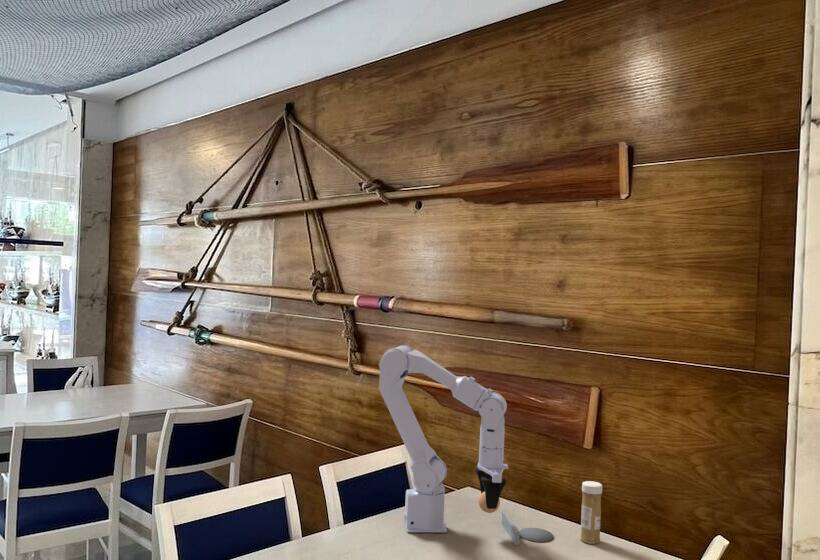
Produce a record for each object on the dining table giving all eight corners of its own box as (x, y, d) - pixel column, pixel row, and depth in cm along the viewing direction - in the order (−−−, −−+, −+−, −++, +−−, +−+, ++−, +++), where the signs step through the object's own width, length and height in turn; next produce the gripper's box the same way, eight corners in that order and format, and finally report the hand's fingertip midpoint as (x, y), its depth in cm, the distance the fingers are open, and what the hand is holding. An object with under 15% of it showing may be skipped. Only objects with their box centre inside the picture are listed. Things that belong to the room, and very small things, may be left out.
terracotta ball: (480, 516, 152) (481, 494, 152) (476, 508, 157) (477, 487, 157) (501, 516, 153) (502, 494, 153) (496, 508, 158) (497, 487, 158)
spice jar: (603, 544, 152) (605, 486, 152) (584, 545, 152) (586, 486, 152) (595, 536, 157) (597, 480, 157) (576, 537, 156) (579, 480, 156)
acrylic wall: (514, 544, 150) (515, 531, 150) (501, 523, 163) (502, 511, 163) (519, 544, 150) (519, 531, 150) (505, 523, 163) (506, 511, 163)
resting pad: (523, 542, 152) (523, 541, 152) (515, 528, 160) (515, 527, 160) (557, 542, 153) (557, 541, 153) (547, 529, 161) (547, 527, 161)
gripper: (516, 454, 148) (513, 515, 148) (501, 438, 163) (498, 493, 163) (485, 454, 148) (482, 515, 148) (473, 438, 162) (470, 493, 162)
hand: (489, 504), depth 155 cm, fingers closed on terracotta ball, 5 cm apart
